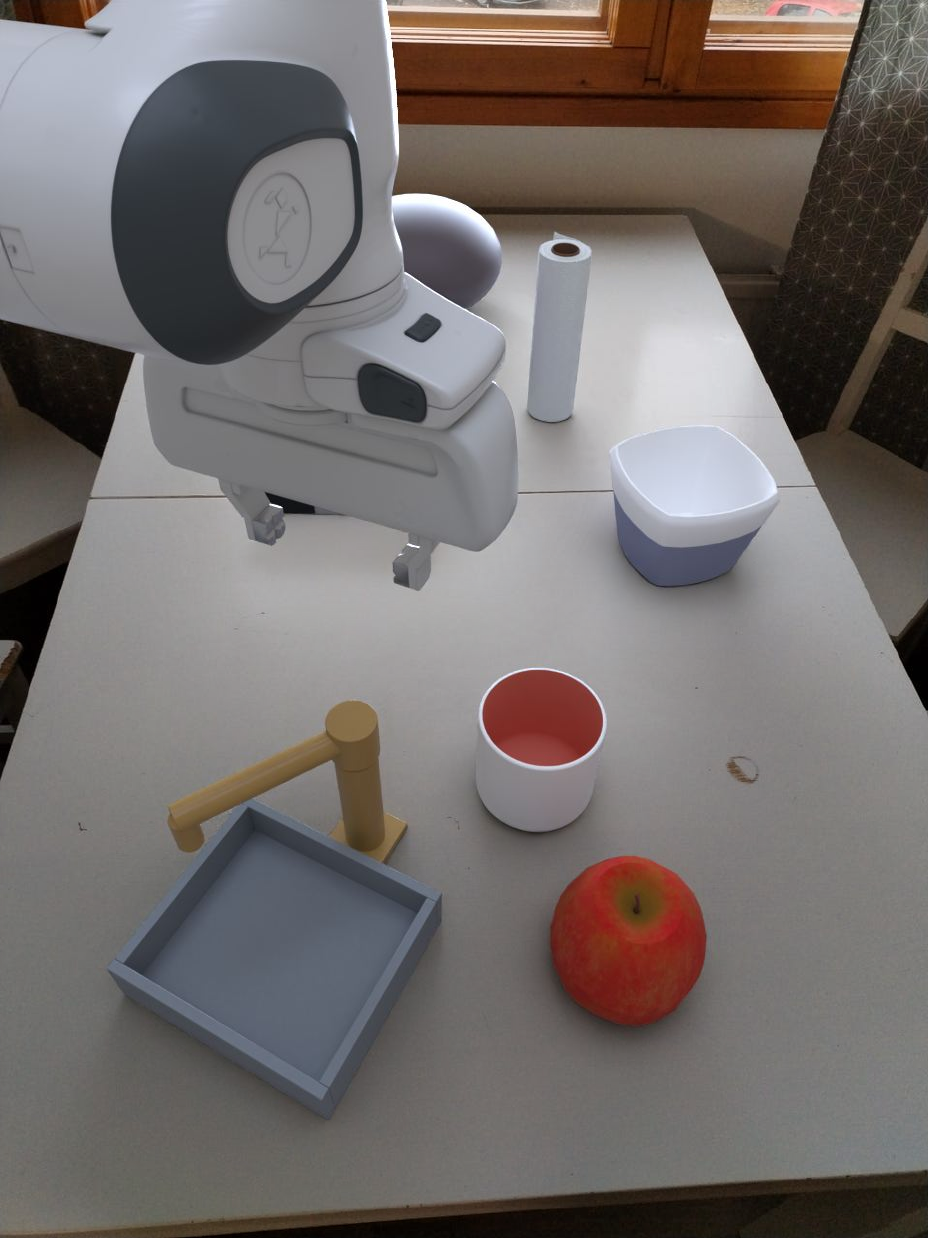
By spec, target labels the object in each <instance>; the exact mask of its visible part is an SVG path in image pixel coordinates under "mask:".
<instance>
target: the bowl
mask: <svg viewBox="0 0 928 1238" xmlns="http://www.w3.org/2000/svg"><path fill="white" fill-rule="evenodd" d="M608 454H609V455H608V456H609V466H610V467H609V468H610V475H611V487H612V494H613V503H614V514H615V524H616V535H617V539H618V542H619V544H620V547H621V549H622V552H623V554H624V555H625V557H626V559H627V560H628V561H629V562H630V564H631V565H632V566H633V567H634V569H636V571H637V572H639V573H640V574H641V575H642V576H643V577H644V578H645V579H646V581H648V582H650V583H651V584H653V585H654V586H661V587H674V586H686V585H692V584H698V583H703V582H706V581H709V580H712V579H715V578H717V577H720V576H722V575H724V574H726V573H727V572H729V571H731V570H732V569H733V568H734V566H735V565H736V564H737V562H738V561H739V560H740V558H741V557H742V555H743V554H744V552H745V550H747V548H748V547H749V545H750V544H751V542H752V541H753V540H754V538H755V537H756V536H757V534H758V532H759V531H760V530H761V528H762V527H763V526H764V524H765V523H767V520H768V519H769V518H770V516H771V515H772V513H773V512H774V511H775V509H776V508H777V506H778V505H779V503H780V502H781V498H780V493H779V490H778V485H777V483H776V480H775V478H774V477H773V476H772V474H771V473H770V471H769V469H768V468H767V466H765V464H764V463H763V462H762V460H761V459H760V458H759V456H758V455H757V454H756V453H755V452H754V451H753V450H752V449H750V448H749V446H747V445H746V444H745V443H744V442H742V441H741V440H740V439H738V437H736V435H734V434H733V433H730V432H729V431H727V430H726V429H724V428H722V427H720V426H718V425H712V424H711V425H709V424H691V425H679V426H671V427H665V428H659V429H654V430H651V431H647V432H643V433H639V434H636V435H633V436H631V437H628V438H626V439H624V440H622V441H620V442H619V443H616V444H615V445H614V446H613V447H612V448H611V449H610V451H609V453H608Z"/></svg>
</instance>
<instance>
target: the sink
mask: <svg viewBox="0 0 928 1238" xmlns="http://www.w3.org/2000/svg"><path fill="white" fill-rule="evenodd" d="M329 836H330V835H329ZM329 836H328V835H326V834H325V833H322V832H321V831H318V830H316V829H315V828H313V827H310V826H309V825H307V824H305V823H303V822H300V821H298V820H296V819H295V818H293V817H291V816H289V815H286V814H284V813H283V812H281V811H278V810H277V809H275V808H272V807H271V806H269V805H267V804H265V803H263V802H260V801H258V800H257V799H255V798H252V799H250V800H248V801H246V802H244V803H242V804H240V805H238V806H235V807H234V809H233V811H231V813H230V815H229V816H228V817H227V818H226V819H225V821H224V822H223V823H222V824H221V826H220V827H219V828H218V829H217V831H215V833H214V834H213V836H212V837H211V838H209V841H208V842H206V843H205V845H204V846H203V848H202V849H201V851H200V852H199V853H198V854H197V856H196V857H195V858H194V859H193V860H192V861H191V863H190V864H189V865H188V866H187V868H185V870H184V871H183V872H182V874H181V875H180V876H179V878H178V879H177V880H176V881H175V882H174V884H173V885H172V886H171V887H170V889H169V890H168V891H167V893H166V894H165V895H164V896H163V898H161V900H160V901H159V903H158V904H157V905H156V906H155V907H154V909H152V911H151V912H150V913H149V915H148V916H147V917H146V919H144V921H142V924H140V925H139V927H138V928H137V930H136V931H135V932H134V933H133V934H132V936H131V937H130V938H129V939H128V941H127V942H126V943H125V944H124V945H123V947H122V948H121V949H120V951H119V952H118V953H117V955H115V957H114V959H112V961H111V962H110V963H109V964H108V966H107V967H106V971H107V972H108V973H109V975H110V977H111V978H112V979H113V981H114V982H115V983H116V985H117V987H118V988H119V990H120V991H121V992H122V994H123V995H125V996H126V997H128V998H129V999H131V1000H133V1001H134V1002H135V1003H137V1004H139V1005H141V1006H143V1007H144V1008H145V1009H148V1010H149V1011H150V1012H153V1013H154V1014H155V1015H156V1016H159V1017H160V1018H162V1019H163V1020H165V1021H167V1022H168V1023H170V1024H171V1025H173V1026H175V1027H176V1028H178V1029H180V1030H181V1031H182V1032H184V1033H186V1034H187V1035H189V1036H191V1037H193V1038H194V1039H195V1040H197V1041H199V1042H201V1043H202V1044H203V1045H205V1046H207V1047H209V1048H210V1049H212V1050H213V1051H215V1052H217V1053H218V1054H220V1055H222V1056H223V1057H225V1058H226V1059H228V1060H229V1061H231V1062H233V1063H234V1064H236V1065H238V1066H239V1067H241V1068H242V1069H244V1070H246V1071H247V1072H249V1073H251V1074H252V1075H254V1076H256V1078H259V1079H261V1080H262V1081H264V1082H265V1083H267V1084H268V1085H270V1086H272V1087H273V1088H275V1089H276V1090H278V1091H280V1092H282V1093H283V1094H284V1095H286V1096H288V1097H290V1099H293V1100H294V1101H296V1102H298V1103H299V1104H301V1105H303V1106H304V1107H305V1108H307V1109H309V1110H311V1111H312V1112H314V1113H315V1114H317V1115H318V1116H320V1117H322V1118H324V1119H325V1120H327V1121H330V1119H331V1117H332V1115H333V1113H334V1112H335V1110H336V1108H337V1106H338V1105H339V1103H340V1101H341V1100H342V1098H343V1096H344V1094H345V1092H346V1091H347V1090H348V1087H349V1085H350V1084H351V1082H352V1080H353V1078H354V1076H355V1075H356V1073H357V1071H358V1070H359V1067H360V1066H361V1064H362V1063H363V1060H364V1059H365V1057H366V1055H367V1053H368V1052H369V1050H370V1048H371V1046H372V1045H373V1043H374V1041H375V1039H376V1037H377V1036H378V1034H379V1032H380V1030H381V1029H382V1027H383V1025H384V1024H385V1022H386V1020H387V1018H388V1017H389V1014H390V1013H391V1011H392V1009H393V1007H394V1006H395V1004H396V1003H397V1000H398V998H399V997H400V995H401V993H402V992H403V990H404V988H405V986H406V984H407V983H408V982H409V979H410V978H411V975H412V974H413V972H414V970H415V969H416V967H417V965H418V963H419V961H420V960H421V958H422V956H423V955H424V952H425V951H426V949H427V947H428V946H429V944H430V942H431V941H432V938H433V937H434V935H435V934H436V931H437V930H438V928H439V926H440V924H441V922H442V919H443V918H442V917H443V916H442V915H443V911H442V910H443V909H442V908H443V906H442V905H443V903H442V898H443V897H442V896H443V895H442V894H443V893H442V892H440V891H438V890H437V889H435V888H432V887H430V886H429V885H427V884H425V883H423V882H420V881H419V880H417V879H414V878H412V877H411V876H409V875H406V874H404V873H402V872H400V871H399V870H396V869H394V868H393V867H390V866H388V865H387V864H382V863H380V862H378V861H376V860H374V859H372V858H370V857H368V856H366V855H364V854H362V853H360V852H358V851H356V850H354V849H352V848H350V847H348V846H346V845H344V844H342V843H340V842H338V841H336V840H334V839H333V838H331V837H329Z"/></svg>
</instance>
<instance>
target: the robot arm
mask: <svg viewBox="0 0 928 1238" xmlns="http://www.w3.org/2000/svg"><path fill="white" fill-rule="evenodd" d="M388 14H389V13H388V9H387V1H386V0H110V1H109V2H108V3H107V4H106V5H105V6H104V7H103V8H102V9H100V11H99V12H97V13H96V14H95V15H93V16H92V17H90V18H89V19H87V20H86V21H84V26H85V28H78V27H69V26H68V27H67V26H61V25H52V24H43V23H35V22H25V21H17V20H8V19H0V320H2V321H6V322H10V323H13V324H17V325H18V324H19V325H22V326H26V327H29V328H34V329H38V330H41V331H46V332H49V333H55V334H59V335H62V336H67V337H70V338H73V339H78V340H82V341H86V342H91V343H94V344H97V345H101V346H106V347H111V348H113V349H118V350H120V351H121V350H122V351H126V352H129V353H130V352H131V353H135V354H139V355H143V361H142V378H143V389H144V399H145V406H146V411H147V418H148V423H149V429H150V433H151V437H152V440H153V441H152V442H153V445H154V446H155V448H156V449H157V451H158V452H159V453H160V455H161V456H162V457H163V458H164V459H165V461H167V463H169V464H170V465H171V466H173V467H176V468H180V469H183V470H187V471H190V472H194V473H197V474H201V475H203V476H204V475H205V476H208V477H212V478H215V479H217V480H218V484H219V488H220V491H221V492H222V493H223V495H224V496H225V497H226V499H227V500H228V501H229V503H230V504H231V505H232V506H233V508H234V509H235V510H236V512H237V513H238V514H239V515H240V517H241V518H243V519H244V525H245V528H246V535H247V538H248V539H249V540H251V541H254V542H257V543H261V544H264V545H268V546H271V547H272V546H274V545H276V543H277V540H279V539H281V538H282V537H283V536H284V535H285V532H286V528H287V527H286V521H285V520H284V517H285V513H283V507H279V506H276V505H273V504H270V501H269V499H268V498H267V496H266V494H265V492H267V493H271V494H274V495H278V496H281V497H285V498H288V499H292V500H295V501H299V502H302V503H306V504H309V505H313V506H316V507H320V508H323V509H327V510H330V511H334V512H337V513H341V514H344V515H343V516H348V517H352V518H355V519H359V520H361V521H366V522H368V523H373V524H376V525H378V526H379V525H380V526H382V527H386V528H390V529H392V530H396V531H400V532H404V533H407V534H408V543H406V544H405V545H404V547H403V548H402V549H401V553H400V554H398V555H397V556H395V558H394V560H392V573H393V574H394V576H393V583H394V584H395V585H398V586H401V587H404V588H407V589H411V590H414V591H417V592H419V591H421V590H422V588H423V587H424V586H425V584H426V583H427V582H428V580H429V578H430V576H431V573H432V554H433V553H434V551H435V550H436V548H437V547H438V546H439V544H440V543H442V544H445V545H449V546H453V547H456V548H459V549H462V550H466V551H469V552H474V553H478V552H481V551H483V550H485V549H486V548H488V547H489V546H490V545H492V544H493V543H494V542H495V541H496V540H497V539H498V538H500V536H501V535H502V533H504V531H505V530H506V528H507V527H508V525H509V523H510V521H511V520H512V518H513V516H514V514H515V511H516V508H517V506H518V505H517V504H518V498H519V479H520V478H519V477H520V475H519V473H520V471H519V469H520V468H519V446H518V435H517V427H516V426H517V425H516V419H515V413H514V410H513V407H512V405H511V402H510V400H509V398H508V396H507V395H506V393H505V391H504V390H503V389H502V387H500V385H498V384H497V383H496V381H494V380H496V378H497V376H498V374H499V372H500V371H501V369H502V367H503V365H504V363H505V360H506V353H507V342H506V338H505V335H504V334H503V331H501V330H500V328H498V327H497V326H496V325H494V324H493V323H491V322H489V321H487V320H486V319H484V318H482V317H480V316H478V315H477V314H474V313H472V312H471V311H468V310H467V309H463V308H461V307H460V306H458V305H456V304H454V303H453V302H451V301H449V300H447V299H446V298H444V297H442V296H441V295H439V294H437V293H436V292H434V291H432V290H431V289H429V288H428V287H426V286H425V285H423V284H422V283H420V282H419V281H417V280H416V279H415V278H413V277H412V276H410V275H408V274H407V273H405V272H404V260H403V250H402V246H401V242H400V239H399V236H398V233H397V230H396V227H395V223H394V218H393V212H392V196H393V189H394V183H395V179H396V174H397V171H398V167H399V160H400V159H399V158H400V144H399V143H400V142H399V123H398V120H399V119H398V107H397V106H398V105H397V90H396V89H397V88H396V78H395V77H396V75H395V67H394V57H393V48H392V39H391V30H390V22H389V15H388Z"/></svg>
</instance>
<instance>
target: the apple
mask: <svg viewBox="0 0 928 1238" xmlns="http://www.w3.org/2000/svg"><path fill="white" fill-rule="evenodd" d="M705 925H706V924H705V919H704V915H703V911H702V908H701V905H700V903H699V901H698V899H697V897H696V894H695V892H693V890H692V889H691V888H690V887H689V885H688V884H686V882H685V881H684V880H683V879H682V878H681V877H680V875H679V874H678V873H676V872H675V871H673V870H671V869H669V868H667V867H665V866H664V865H662V864H660V863H658V862H656V861H654V860H653V859H649V858H647V857H642V856H639V855H638V856H637V855H619V856H616V857H615V856H614V857H610V858H606V859H604V860H601V861H599V862H597V863H594V864H592V865H589V866H588V867H587V866H586V868H585V869H584V870H582V871H581V873H579V874H578V875H577V876H576V877H575V878H574V879H573V880H572V881H570V883H569V884H568V885H567V886H566V888H565V889H564V890H563V892H562V893H561V894H560V896H559V899H558V900H557V903H556V906H555V908H554V912H553V916H552V919H551V923H550V927H549V931H550V932H549V933H550V934H549V937H550V939H549V942H550V944H549V945H550V953H551V957H552V962H553V966H554V968H555V971H556V973H557V975H558V977H559V979H560V981H561V983H562V986H563V988H564V990H565V992H566V993H567V994H568V995H569V997H570V998H571V999H572V1000H573V1001H574V1002H575V1003H576V1004H577V1005H578V1006H580V1007H582V1008H583V1009H585V1010H587V1011H588V1012H589V1013H591V1014H593V1015H595V1016H596V1017H598V1018H601V1019H604V1020H607V1021H609V1022H612V1023H615V1024H618V1025H620V1026H632V1027H640V1026H644V1025H648V1024H652V1023H655V1022H656V1023H657V1022H659V1021H661V1020H662V1019H664V1018H665V1017H667V1016H668V1015H670V1014H671V1013H673V1012H674V1011H676V1010H677V1008H678V1007H679V1006H680V1004H681V1003H682V1002H683V1000H684V999H685V998H686V997H687V996H688V995H689V993H690V992H691V991H692V989H694V987H695V986H696V983H697V982H698V980H699V978H700V976H701V973H702V971H703V967H704V965H705V959H706V952H707V937H708V936H707V930H706V926H705Z"/></svg>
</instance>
